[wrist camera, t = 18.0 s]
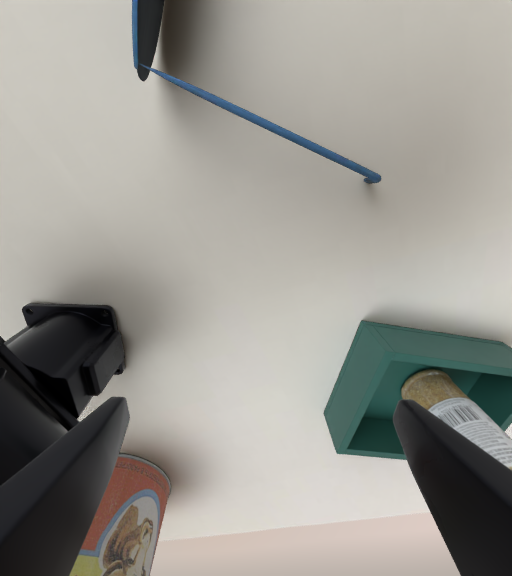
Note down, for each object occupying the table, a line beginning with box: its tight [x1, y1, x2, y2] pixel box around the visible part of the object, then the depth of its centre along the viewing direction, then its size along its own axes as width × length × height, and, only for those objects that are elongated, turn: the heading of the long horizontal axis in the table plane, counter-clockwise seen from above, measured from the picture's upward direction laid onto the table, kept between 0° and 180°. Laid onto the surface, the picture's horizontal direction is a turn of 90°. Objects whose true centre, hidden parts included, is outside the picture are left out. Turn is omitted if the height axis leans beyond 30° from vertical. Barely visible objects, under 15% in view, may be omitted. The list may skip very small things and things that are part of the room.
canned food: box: [70, 454, 171, 576], centre depth 24 cm, size 11×11×12 cm
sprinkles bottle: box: [401, 369, 512, 470], centre depth 18 cm, size 5×5×14 cm
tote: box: [324, 321, 512, 460], centre depth 22 cm, size 13×11×4 cm
